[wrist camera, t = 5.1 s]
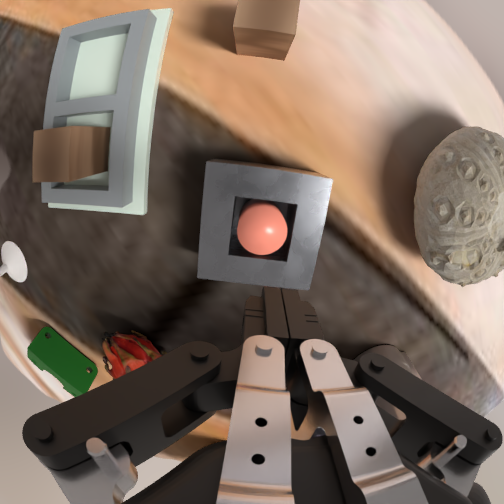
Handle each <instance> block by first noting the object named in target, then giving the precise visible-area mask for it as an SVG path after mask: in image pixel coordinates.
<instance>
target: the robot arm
mask: <svg viewBox="0 0 504 504" xmlns="http://www.w3.org/2000/svg"><path fill="white" fill-rule="evenodd" d="M285 383H286V387H287V389H286V390H285ZM228 408H233V410H232V416H231V422H230V428H229V433H228V439H227V440H226V441H221V442H217V443H214V444H211V445H208V446H206V447H204V448H202V449H200V450H198V451H197V452H195V453H194V454H192V455H191V456H189V457H188V458H187V459H186V460H184V461H183V462H182V463H180V464H179V465H178V466H176V467H175V468H174V469H172V470H171V471H170V472H168V473H167V474H165V475H164V476H163V477H161V478H160V479H159V480H157V481H155V483H153V484H151V485H150V486H148V487H147V488H145V489H144V490H142V491H141V492H139V493H137V494H136V495H135V496H133V497H131V498H130V499H128V500H126V501H125V502H123V499H124V496H125V495H126V493H127V492H128V491H129V490H131V489H132V488H133V487H134V486H135V484H136V482H137V479H138V473H137V469H136V468H135V467H136V466H138V465H139V464H141V463H143V462H145V461H146V460H148V459H149V458H151V457H153V456H154V455H156V454H157V453H159V452H161V451H162V450H164V449H165V448H167V447H168V446H170V445H171V444H173V443H174V442H176V441H177V440H179V439H180V438H182V437H183V436H185V435H186V434H188V433H189V432H191V431H192V430H193V429H195V428H196V427H198V426H199V425H200V424H202V423H203V422H205V421H206V420H207V419H209V418H210V417H211V416H213V415H214V414H215V412H216V411H217V410H222V409H228ZM22 434H23V439H24V442H25V444H26V446H27V447H28V448H29V449H30V450H31V451H32V452H33V453H34V455H35V456H36V457H38V459H39V460H40V462H41V463H42V464H43V465H44V466H45V467H46V468H47V469H48V470H49V471H50V472H51V473H52V475H53V477H54V478H55V480H56V482H57V483H58V485H59V487H60V488H61V490H62V491H63V493H64V494H65V496H66V498H67V499H68V501H69V502H70V504H491V503H490V500H489V498H488V496H487V494H486V492H485V490H484V489H483V488H482V487H481V486H480V485H479V484H477V483H474V480H475V478H476V475H477V473H478V470H479V468H480V465H481V463H483V462H484V461H485V460H486V459H487V458H488V457H490V456H491V455H492V454H493V453H494V452H495V451H496V450H497V449H498V448H499V447H500V446H501V444H502V434H501V431H500V429H499V428H498V427H497V426H496V425H495V424H494V423H492V422H490V421H489V420H487V419H486V418H484V417H482V416H481V415H479V414H477V413H476V412H474V411H472V410H471V409H469V408H467V407H466V406H464V405H462V404H461V403H459V402H457V401H456V400H454V399H452V398H451V397H449V396H447V395H446V394H444V393H442V392H441V391H439V390H438V389H436V388H434V387H433V386H431V385H429V384H428V383H426V382H425V381H423V380H422V379H421V377H420V375H419V374H418V372H417V370H416V369H415V367H414V365H413V364H412V362H411V360H410V359H409V357H408V356H407V354H406V352H400V351H399V350H398V349H397V348H396V347H394V346H391V345H381V346H376V347H373V348H371V349H369V350H367V351H365V352H363V353H362V354H360V355H359V356H357V357H356V358H355V359H354V360H349V359H345V358H342V357H340V356H339V354H338V352H337V350H336V348H335V347H334V346H333V345H332V344H330V343H328V342H326V341H325V338H324V335H323V332H322V329H321V326H320V324H319V321H318V318H317V315H316V312H315V309H314V308H313V307H312V306H311V305H310V304H309V303H308V302H306V301H301V300H300V297H299V294H298V290H295V289H285V288H281V289H280V288H275V287H266V286H264V287H263V290H262V296H261V297H257V296H250V297H249V299H248V300H247V301H246V304H245V311H244V318H243V325H242V335H241V346H239V347H238V348H236V349H234V350H231V351H225V352H220V350H219V349H218V348H217V347H216V346H215V345H213V344H211V343H208V342H204V341H192V342H188V343H186V344H184V345H182V346H180V347H178V348H176V349H174V350H173V351H171V352H169V353H167V354H165V355H163V356H161V357H159V358H157V359H155V360H153V361H151V362H149V363H147V364H145V365H143V366H141V367H139V368H137V369H135V370H133V371H131V372H129V373H127V374H125V375H123V376H120V377H118V378H116V379H114V380H112V381H110V382H108V383H106V384H104V385H101V386H99V387H97V388H95V389H93V390H90V391H88V392H86V393H84V394H82V395H79V396H77V397H75V398H72V399H70V400H68V401H66V402H63V403H61V404H59V405H56V406H54V407H51V408H49V409H47V410H44V411H42V412H39V413H37V414H34V415H32V416H31V417H30V418H29V419H28V420H27V421H26V422H25V424H24V427H23V432H22Z"/></svg>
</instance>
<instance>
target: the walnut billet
mask: <svg viewBox="0 0 504 504" xmlns="http://www.w3.org/2000/svg"><path fill="white" fill-rule="evenodd" d="M299 3H300V0H238V4H237V8H236V13H235V18H234V23H233V31H234V38H235V45H236V51H237V55H247V56H256V57H264V58H271V59H278V60H285V57H286V55H287V53H288V51H289V48H290V46H291V44H292V41H293V39H294V37H295V34H296V27H297V19H298V11H299Z"/></svg>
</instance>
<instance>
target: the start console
mask: <svg viewBox="0 0 504 504" xmlns="http://www.w3.org/2000/svg"><path fill="white" fill-rule="evenodd" d="M332 182H333V179H331V178H329V177H327V176H324V175H322V174H320V173H317V172H311V171H305V170H300V169H294V168H287V167H281V166H274V165H267V164H260V163H252V162H244V161H235V160H225V159H215V158H214V159H211V160H209V161H206V169H205V179H204V190H203V201H202V213H201V226H200V240H199V256H198V275H197V278H202V279H210V280H218V281H227V282H235V283H244V284H253V285H263V286H272V287H282V288H292V289H303V290H309V288H310V284H311V280H312V276H313V272H314V268H315V263H316V259H317V255H318V250H319V246H320V242H321V237H322V232H323V228H324V223H325V218H326V213H327V208H328V203H329V198H330V192H331V187H332ZM251 199H262V200H270V201H273V202H274V203H276V204H277V206H278V207H279V209H280V211H281V213H282V215H283V217H284V220H285V222H286V225H287V237H286V240H285V242H284V243H283V245H282V246H281V247H280V248H279V249H278V250H276V251H275V252H273V253H270V254H266V255H258V254H254V253H251V252H249V251H248V250H246V249H245V248H244V247H243V246H242V245H241V243H240V241H239V239H238V235H237V227H238V220H239V214H240V211H241V209H242V207H243V206H244V204H245V203H247V202H248V201H249V200H251Z"/></svg>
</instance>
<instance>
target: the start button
mask: <svg viewBox="0 0 504 504" xmlns="http://www.w3.org/2000/svg"><path fill="white" fill-rule="evenodd" d="M237 235H238V239H239V241H240V243H241V245H242V246H243V247H244V248H245V249H246V250H248V251H249V252H251V253H254V254H258V255H266V254H270V253H273V252H275V251H276V250H278V249H279V248H280V247H281V246H282V245H283V243H284V242H285V240H286V237H287V225H286V222H285V220H284V217H283V215H282V213H281V211H280V209H279V207H278V206H277V204H276V203H274V202H273V201H270V200H262V199H251V200H249V201H248V202H247V203H245V204H244V206H243V207H242V209H241V211H240V214H239V220H238V227H237Z"/></svg>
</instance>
